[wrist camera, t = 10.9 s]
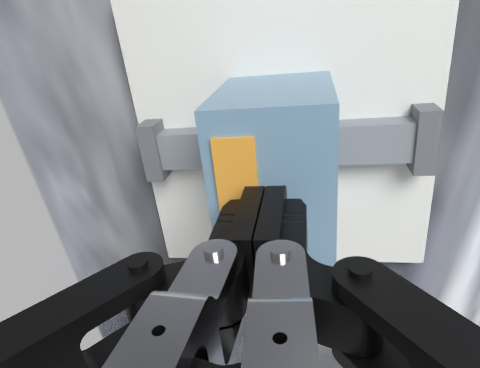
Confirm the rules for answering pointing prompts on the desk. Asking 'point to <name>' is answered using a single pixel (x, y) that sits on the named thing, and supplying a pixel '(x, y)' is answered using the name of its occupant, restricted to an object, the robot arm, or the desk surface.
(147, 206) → the desk surface
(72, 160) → the desk surface
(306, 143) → the block
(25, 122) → the desk surface
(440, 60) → the rail plate
